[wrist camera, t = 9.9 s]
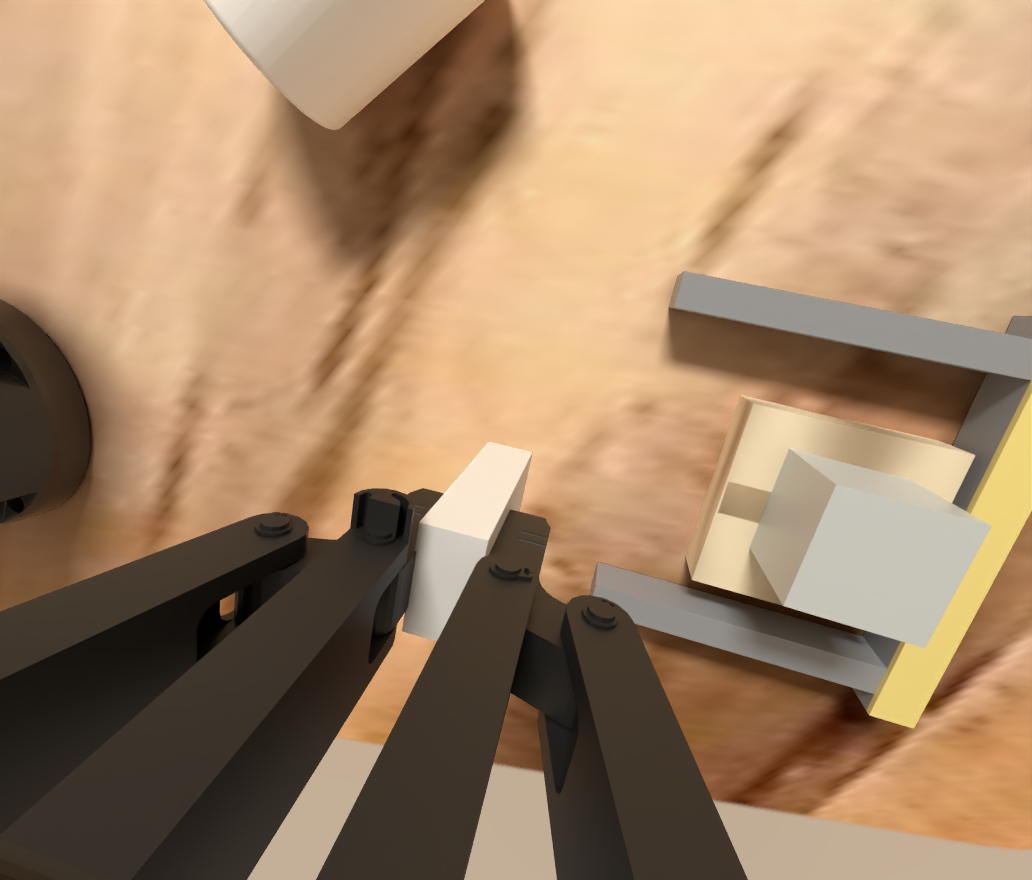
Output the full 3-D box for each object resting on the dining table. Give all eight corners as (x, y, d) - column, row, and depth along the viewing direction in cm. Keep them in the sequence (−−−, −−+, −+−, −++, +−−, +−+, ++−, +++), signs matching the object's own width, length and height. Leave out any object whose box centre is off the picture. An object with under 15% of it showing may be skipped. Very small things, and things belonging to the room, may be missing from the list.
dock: (587, 600, 28) (583, 629, 26) (683, 253, 23) (692, 245, 20) (883, 686, 26) (913, 728, 24) (1065, 325, 21) (1130, 327, 18)
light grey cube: (749, 547, 23) (783, 606, 19) (788, 448, 22) (836, 484, 17) (860, 579, 23) (924, 648, 18) (908, 479, 21) (991, 525, 17)
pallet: (684, 552, 27) (691, 579, 24) (737, 393, 25) (753, 403, 22) (857, 600, 26) (886, 635, 23) (932, 438, 23) (975, 455, 21)
